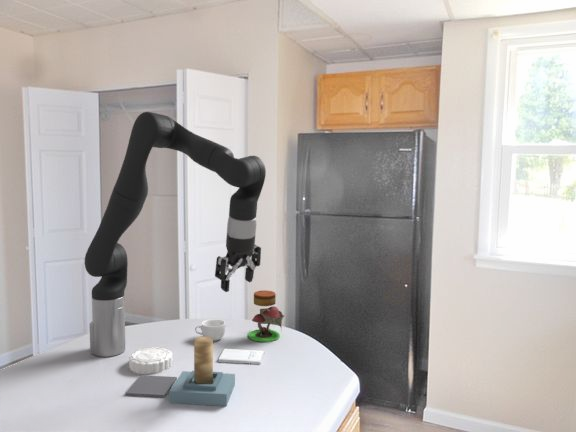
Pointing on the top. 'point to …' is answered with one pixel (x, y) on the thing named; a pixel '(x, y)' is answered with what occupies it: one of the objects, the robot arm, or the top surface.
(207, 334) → the teacup
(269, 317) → the mushroom figurine
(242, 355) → the external hard drive
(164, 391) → the grey rubber coaster
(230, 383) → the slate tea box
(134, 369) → the mooncake
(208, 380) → the oak stopper
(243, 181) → the robot arm
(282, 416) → the top surface
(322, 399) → the top surface
